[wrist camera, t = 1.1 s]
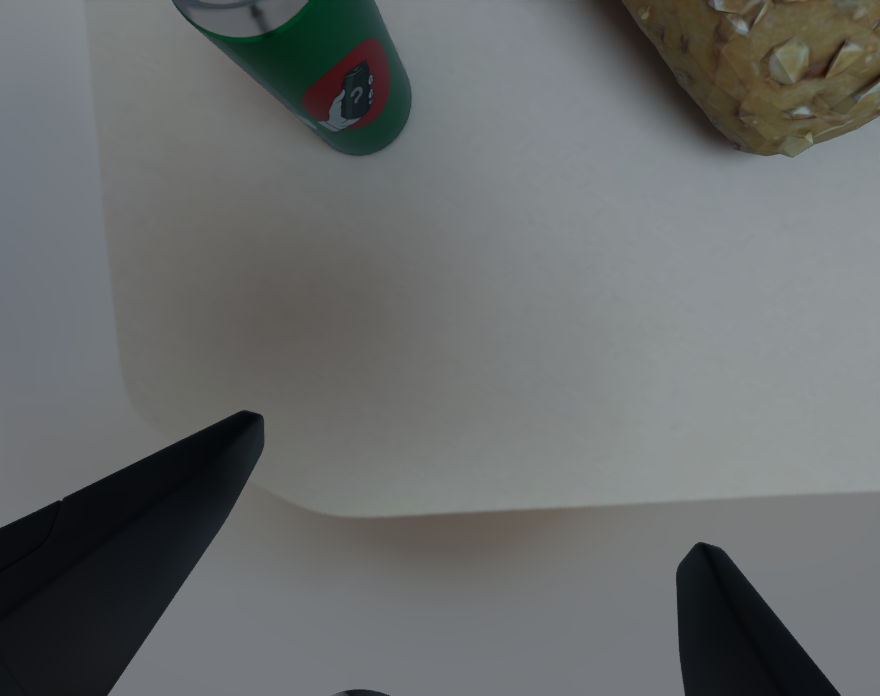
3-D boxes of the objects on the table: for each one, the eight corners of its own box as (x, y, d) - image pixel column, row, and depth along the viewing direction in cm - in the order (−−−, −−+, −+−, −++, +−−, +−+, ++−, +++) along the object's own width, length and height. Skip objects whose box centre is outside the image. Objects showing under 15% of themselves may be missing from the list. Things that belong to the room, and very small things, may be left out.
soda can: (426, 65, 23) (344, -185, 11) (396, 171, 24) (289, 42, 12) (328, 38, 23) (149, -228, 12) (301, 143, 24) (106, -8, 12)
